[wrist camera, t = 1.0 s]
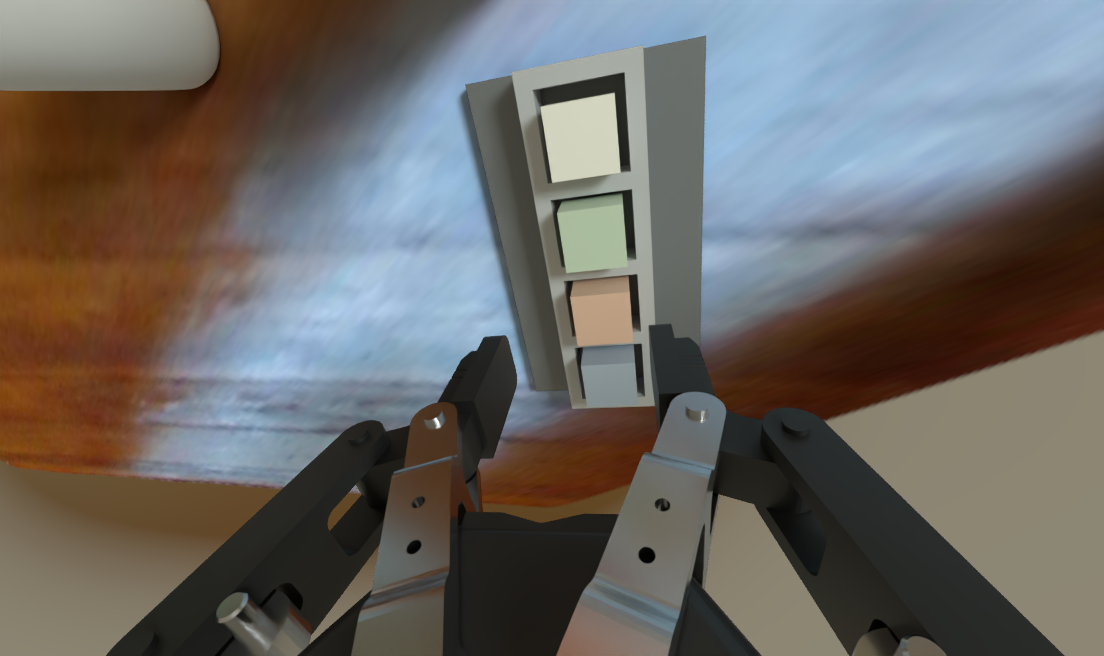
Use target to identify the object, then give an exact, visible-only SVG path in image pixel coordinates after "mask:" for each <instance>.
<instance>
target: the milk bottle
mask: <svg viewBox="0 0 1104 656" xmlns="http://www.w3.org/2000/svg"><path fill="white" fill-rule="evenodd" d="M219 59H220V41H219V33H218V29H217V26H216V21H215V18H214V16H213V14H212V11H211V9H210V6H209V4H208V2H207V1H206V0H0V90H9V91H143V90H185V89H194V88H197V87H199V86H201V85H203V84H204V83H205V82H207V81H208V80H209V79H210V78H211V77H212V76H213V74H214V72H215V70H216V69H217V66H218V62H219Z"/></svg>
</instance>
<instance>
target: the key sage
mask: <svg viewBox="0 0 1104 656" xmlns="http://www.w3.org/2000/svg"><path fill="white" fill-rule="evenodd" d="M557 216H558V222H559V229H560V235H561V242H562V248H563V254H564V261H565V267H566V273H572V272H582V271H592V270H602V269H612V268H621V267H628V264H627V251H626V237H625V224H624V211H623V198H622V193H619V194H612V195H605V196H597V197H590V198H583V199H575V200H568V201H562V203H561V205H560V207H559V210H558V212H557Z"/></svg>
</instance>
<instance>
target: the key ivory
mask: <svg viewBox="0 0 1104 656" xmlns="http://www.w3.org/2000/svg"><path fill="white" fill-rule="evenodd" d="M541 114H542V120H543V127H544V133H545V139H546V146H547V152H548V158H549V165H550V171H551V178H552V183H554V182H561V181H568V180H575V179H582V178H588V177H595V176H602V175H609V174H616V173H621V172H620V158H619V145H618V132H617V119H616V105H615V92H614V93H609V94H603V95H598V96H593V97H587V98H582V99H577V100H571V101H566V102H560V103H555V104H550V105H545V106H542V107H541Z"/></svg>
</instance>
